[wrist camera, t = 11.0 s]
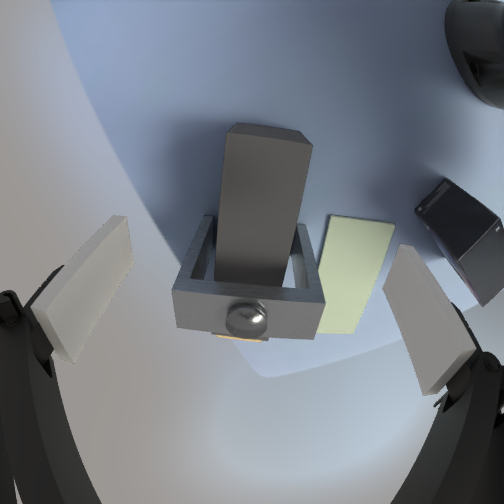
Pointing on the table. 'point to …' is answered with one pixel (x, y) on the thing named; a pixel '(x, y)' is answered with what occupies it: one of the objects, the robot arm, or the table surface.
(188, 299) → the frame
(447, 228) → the small box
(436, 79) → the table surface
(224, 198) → the plug
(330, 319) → the mat
